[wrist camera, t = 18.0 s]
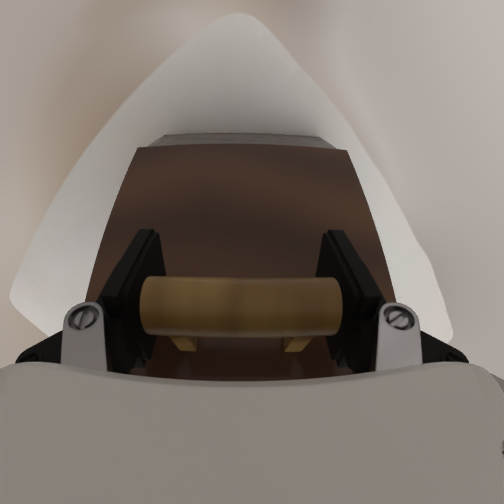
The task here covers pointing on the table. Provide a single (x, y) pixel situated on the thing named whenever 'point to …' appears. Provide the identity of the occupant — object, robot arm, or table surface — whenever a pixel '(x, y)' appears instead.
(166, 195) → the chest lid
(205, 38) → the table surface
